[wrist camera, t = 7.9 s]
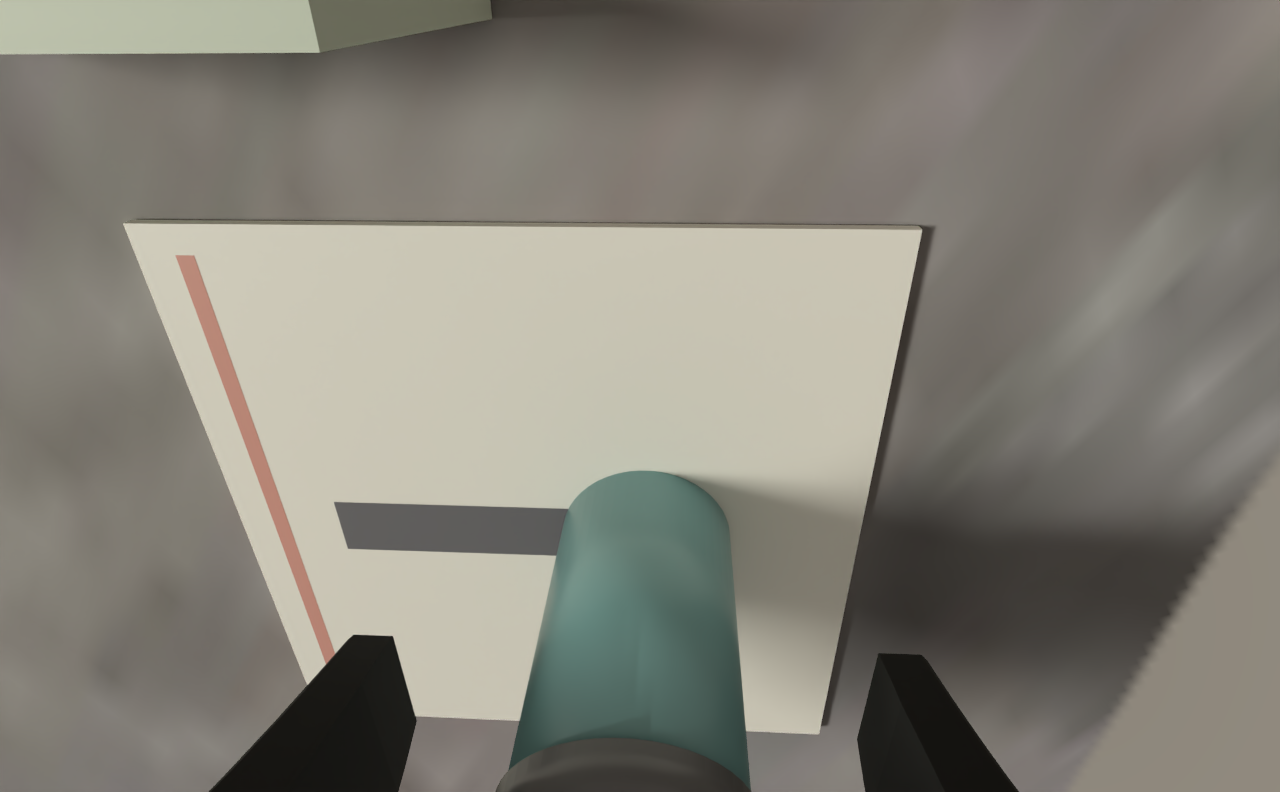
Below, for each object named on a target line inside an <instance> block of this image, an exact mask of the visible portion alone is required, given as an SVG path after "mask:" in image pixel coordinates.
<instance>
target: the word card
mask: <svg viewBox="0 0 1280 792" xmlns="http://www.w3.org/2000/svg"><path fill="white" fill-rule="evenodd" d="M490 19H492V11H491V1H490V0H0V54H152V53H321V52H326V51H331V50H336V49H341V48H346V47H351V46H357V45H362V44H367V43H372V42H377V41H382V40H387V39H392V38H398V37H403V36H408V35H413V34H418V33H423V32H428V31H433V30H439V29H444V28H449V27H454V26H459V25H464V24H469V23H474V22H480V21H485V20H490Z"/></svg>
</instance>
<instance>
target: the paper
mask: <svg viewBox="0 0 1280 792" xmlns="http://www.w3.org/2000/svg"><path fill="white" fill-rule="evenodd" d="M123 225H124V227H125V230H126V232H127V235H128V237H129V240H130V242H131V245H132V247H133V250H134V252H135V255H136V257H137V260H138V262H139V265H140V267H141V270H142V272H143V275H144V277H145V280H146V282H147V285H148V287H149V290H150V292H151V295H152V297H153V300H154V302H155V305H156V307H157V310H158V312H159V315H160V317H161V320H162V322H163V325H164V327H165V330H166V332H167V335H168V337H169V340H170V342H171V345H172V347H173V350H174V352H175V355H176V357H177V360H178V362H179V365H180V367H181V370H182V372H183V375H184V377H185V380H186V382H187V385H188V387H189V390H190V392H191V395H192V397H193V400H194V402H195V405H196V407H197V410H198V413H199V415H200V418H201V420H202V423H203V425H204V428H205V430H206V433H207V435H208V438H209V440H210V443H211V445H212V448H213V450H214V453H215V455H216V458H217V460H218V463H219V465H220V468H221V470H222V473H223V475H224V478H225V480H226V483H227V485H228V488H229V490H230V493H231V495H232V498H233V500H234V503H235V505H236V508H237V510H238V513H239V515H240V518H241V520H242V523H243V525H244V528H245V530H246V533H247V535H248V538H249V540H250V543H251V545H252V548H253V550H254V553H255V555H256V558H257V560H258V563H259V565H260V568H261V570H262V573H263V575H264V578H265V580H266V583H267V585H268V588H269V590H270V593H271V595H272V598H273V600H274V603H275V605H276V608H277V610H278V613H279V615H280V618H281V620H282V623H283V625H284V628H285V630H286V633H287V635H288V638H289V640H290V643H291V646H292V648H293V651H294V653H295V656H296V658H297V661H298V663H299V666H300V668H301V671H302V673H303V676H304V678H305V681H306V683H307V685H308V684H309V683H310V682H311V681H312V680H313V678H314V677H315V676H316V675H317V674H318V673H319V672H320V670H321V669H322V668H323V667H324V666H325V665H326V664H327V662H328V661H329V660H330V659H331V658H332V657H333V656H334V655H335V653H336V652H337V651H338V650H339V649H340V648H341V647H342V646H343V644H344V643H345V642H346V641H347V640H348V639H349V638H350V637H351V636H353V635H378V636H393V638H394V642H395V645H396V649H397V652H398V656H399V660H400V663H401V667H402V670H403V674H404V678H405V681H406V685H407V688H408V692H409V695H410V699H411V703H412V706H413V710H414V713H415V716H424V717H446V718H468V719H490V720H512V721H520V717H521V712H522V708H523V703H524V699H525V694H526V690H527V685H528V681H529V676H530V672H531V667H532V663H533V658H534V654H535V649H536V645H537V640H538V636H539V632H540V627H541V623H542V618H543V614H544V609H545V605H546V600H547V596H548V591H549V587H550V582H551V578H552V573H553V569H554V564H555V560H556V555H557V551H558V546H559V542H560V537H561V533H562V528H563V524H564V520H565V516H566V513H567V511H568V509H569V507H570V505H571V504H572V502H573V501H574V499H575V498H576V497H577V496H578V495H579V494H580V493H581V492H582V491H583V490H585V489H586V488H587V487H588V486H590V485H592V484H593V483H595V482H597V481H599V480H601V479H603V478H605V477H608V476H611V475H614V474H618V473H623V472H629V471H656V472H663V473H667V474H672V475H675V476H678V477H681V478H683V479H686V480H688V481H690V482H692V483H694V484H696V485H697V486H699V487H700V488H702V489H703V490H705V491H706V492H707V493H708V494H709V495H711V496H712V498H713V499H714V500H715V501H716V502H717V503H718V504H719V506H720V507H721V509H722V510H723V512H724V514H725V517H726V519H727V522H728V525H729V532H730V543H731V555H732V567H733V580H734V592H735V604H736V616H737V628H738V641H739V653H740V665H741V677H742V690H743V702H744V714H745V726H746V731H755V732H778V733H800V734H819V732H820V727H821V722H822V717H823V712H824V707H825V702H826V697H827V693H828V688H829V683H830V678H831V673H832V668H833V663H834V658H835V654H836V649H837V644H838V639H839V634H840V629H841V624H842V619H843V615H844V610H845V605H846V600H847V595H848V590H849V585H850V581H851V576H852V571H853V566H854V561H855V556H856V551H857V546H858V542H859V537H860V532H861V527H862V522H863V517H864V512H865V507H866V503H867V498H868V493H869V488H870V483H871V478H872V473H873V468H874V464H875V459H876V454H877V449H878V444H879V439H880V434H881V429H882V425H883V420H884V415H885V410H886V405H887V400H888V395H889V390H890V386H891V381H892V376H893V371H894V366H895V361H896V356H897V352H898V347H899V342H900V337H901V332H902V327H903V322H904V317H905V313H906V308H907V303H908V298H909V293H910V288H911V283H912V278H913V274H914V269H915V264H916V259H917V254H918V249H919V244H920V239H921V235H922V229H921V228H920V227H919V226H903V225H774V224H644V223H514V222H384V221H255V220H130V221H127V222H125V223H123Z"/></svg>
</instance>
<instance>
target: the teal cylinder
mask: <svg viewBox="0 0 1280 792" xmlns="http://www.w3.org/2000/svg"><path fill="white" fill-rule="evenodd" d="M496 792H751V787H750V775H749V763H748V751H747V738H746V726H745V714H744V702H743V690H742V677H741V665H740V653H739V641H738V628H737V616H736V604H735V592H734V580H733V567H732V555H731V543H730V532H729V525H728V522H727V519H726V517H725V514H724V512H723V510H722V509H721V507H720V506H719V504H718V503H717V502H716V501H715V500H714V499H713V498H712V496H711V495H709V494H708V493H707V492H706V491H705V490H703V489H702V488H700V487H699V486H697V485H696V484H694V483H692V482H690V481H688V480H686V479H683V478H681V477H678V476H675V475H672V474H667V473H663V472H656V471H629V472H623V473H618V474H614V475H611V476H608V477H605V478H603V479H601V480H599V481H597V482H595V483H593V484H592V485H590V486H588V487H587V488H586V489H585V490H583V491H582V492H581V493H580V494H579V495H578V496H577V497H576V498H575V499H574V501H573V502H572V504H571V505H570V507H569V509H568V511H567V513H566V516H565V520H564V524H563V528H562V533H561V537H560V542H559V546H558V551H557V555H556V560H555V564H554V569H553V573H552V578H551V582H550V587H549V591H548V596H547V600H546V605H545V609H544V614H543V618H542V623H541V627H540V632H539V636H538V640H537V645H536V649H535V654H534V658H533V663H532V667H531V672H530V676H529V681H528V685H527V690H526V694H525V699H524V703H523V708H522V712H521V717H520V721H519V726H518V730H517V735H516V739H515V744H514V748H513V752H512V757H511V761H510V766H509V770H508V772H507V773H506V774H505V776H504V777H503V778H502V779H501V781H500V783H499V785H498V787H497V789H496Z"/></svg>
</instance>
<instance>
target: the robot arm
mask: <svg viewBox="0 0 1280 792" xmlns="http://www.w3.org/2000/svg"><path fill="white" fill-rule="evenodd" d="M416 721H417V720H416V717H415V713H414V710H413V706H412V703H411V699H410V695H409V692H408V688H407V685H406V681H405V678H404V674H403V670H402V667H401V663H400V660H399V656H398V652H397V649H396V645H395V642H394V638H393V636H378V635H353V636H351V637H350V638H349V639H348V640H347V641H346V642H345V643H344V644H343V646H342V647H341V648H340V649H339V650H338V651H337V652H336V653H335V655H334V656H333V657H332V658H331V659H330V660H329V661H328V662H327V664H326V665H325V666H324V667H323V668H322V669H321V670H320V672H319V673H318V674H317V675H316V676H315V677H314V678H313V680H312V681H311V682H310V683H309V684H308V685H307V686H306V687H305V689H304V690H303V691H302V692H301V693H300V694H299V695H298V696H297V698H296V699H295V700H294V701H293V702H292V703H291V704H290V705H289V706H288V708H287V709H286V710H285V711H284V712H283V713H282V714H281V715H280V716H279V718H278V719H277V720H276V721H275V722H274V723H273V724H272V725H271V726H270V727H269V728H268V730H267V731H266V732H265V733H264V734H263V735H262V736H261V737H260V738H259V739H258V740H257V741H256V742H255V743H254V745H253V746H252V747H251V748H250V749H249V750H248V751H247V752H246V753H245V754H244V755H243V756H242V757H241V758H240V760H239V761H238V762H237V763H236V764H235V765H234V766H233V767H232V768H231V769H230V770H229V771H228V772H227V773H226V774H225V775H224V777H223V778H222V779H221V780H220V781H219V782H218V783H217V784H216V785H215V786H214V787H213V788H212V789H211V790H210V791H209V792H398V791H399V787H400V783H401V780H402V776H403V772H404V769H405V765H406V761H407V757H408V753H409V749H410V745H411V741H412V737H413V733H414V729H415V725H416ZM857 741H858V748H859V754H860V761H861V767H862V774H863V780H864V786H865V792H1019V791H1018V790H1017V789H1016V787H1015V786H1014V785H1013V783H1012V782H1011V781H1010V779H1009V778H1008V777H1007V775H1006V774H1005V773H1004V771H1003V770H1002V768H1001V767H1000V766H999V764H998V763H997V762H996V760H995V759H994V757H993V756H992V755H991V753H990V752H989V751H988V749H987V748H986V746H985V745H984V743H983V742H982V741H981V739H980V738H979V736H978V735H977V733H976V732H975V731H974V729H973V728H972V726H971V725H970V724H969V722H968V721H967V719H966V718H965V716H964V715H963V713H962V712H961V710H960V709H959V708H958V706H957V705H956V703H955V702H954V700H953V699H952V697H951V696H950V694H949V693H948V691H947V690H946V688H945V687H944V685H943V684H942V682H941V681H940V679H939V678H938V676H937V675H936V673H935V672H934V670H933V669H932V667H931V666H930V664H929V663H928V661H927V660H926V659H925V658H924V657H923V656H922V655H909V654H881V653H879V654H878V658H877V662H876V666H875V670H874V674H873V678H872V682H871V686H870V690H869V694H868V698H867V702H866V706H865V710H864V714H863V718H862V722H861V726H860V730H859V734H858V738H857Z"/></svg>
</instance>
